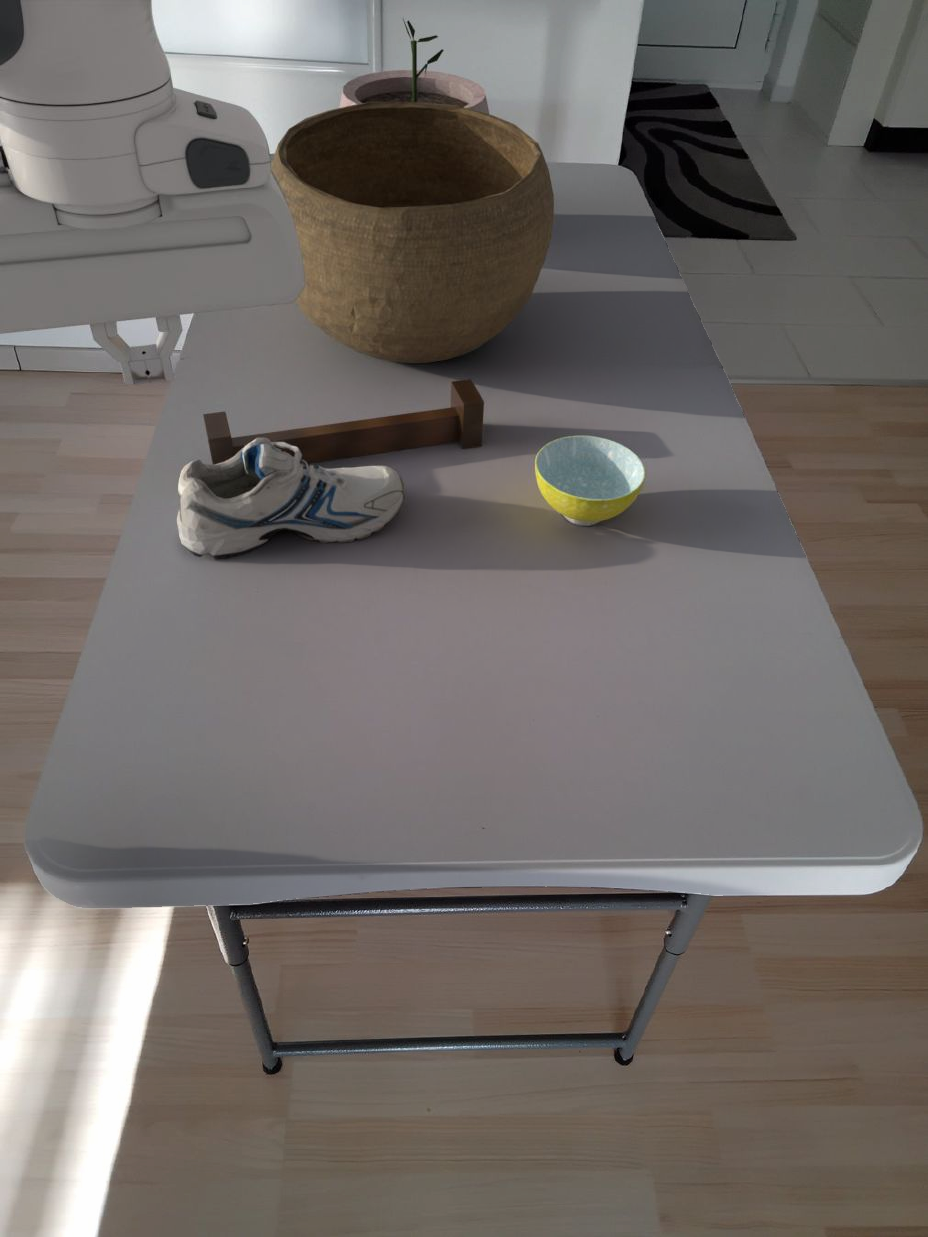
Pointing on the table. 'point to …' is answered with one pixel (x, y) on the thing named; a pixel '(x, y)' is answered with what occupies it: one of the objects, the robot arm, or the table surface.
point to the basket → (415, 225)
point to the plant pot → (415, 85)
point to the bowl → (588, 478)
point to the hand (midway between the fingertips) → (149, 378)
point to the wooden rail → (366, 431)
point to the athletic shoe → (280, 500)
